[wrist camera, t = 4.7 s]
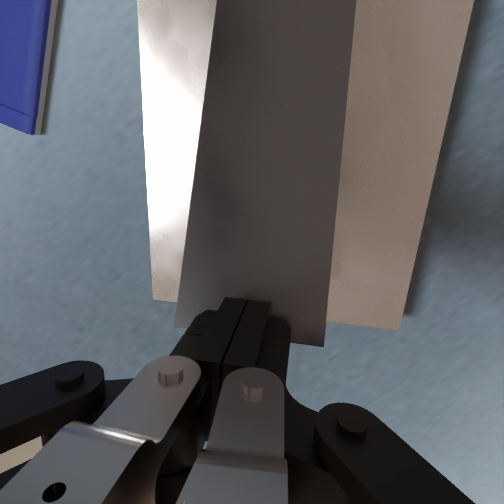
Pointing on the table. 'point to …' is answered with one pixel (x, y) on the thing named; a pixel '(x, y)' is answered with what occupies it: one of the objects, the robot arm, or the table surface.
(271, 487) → the robot arm
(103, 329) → the table surface
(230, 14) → the flat pivoting pedal
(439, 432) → the table surface
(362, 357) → the table surface
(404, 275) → the mounting plate
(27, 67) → the hard drive
